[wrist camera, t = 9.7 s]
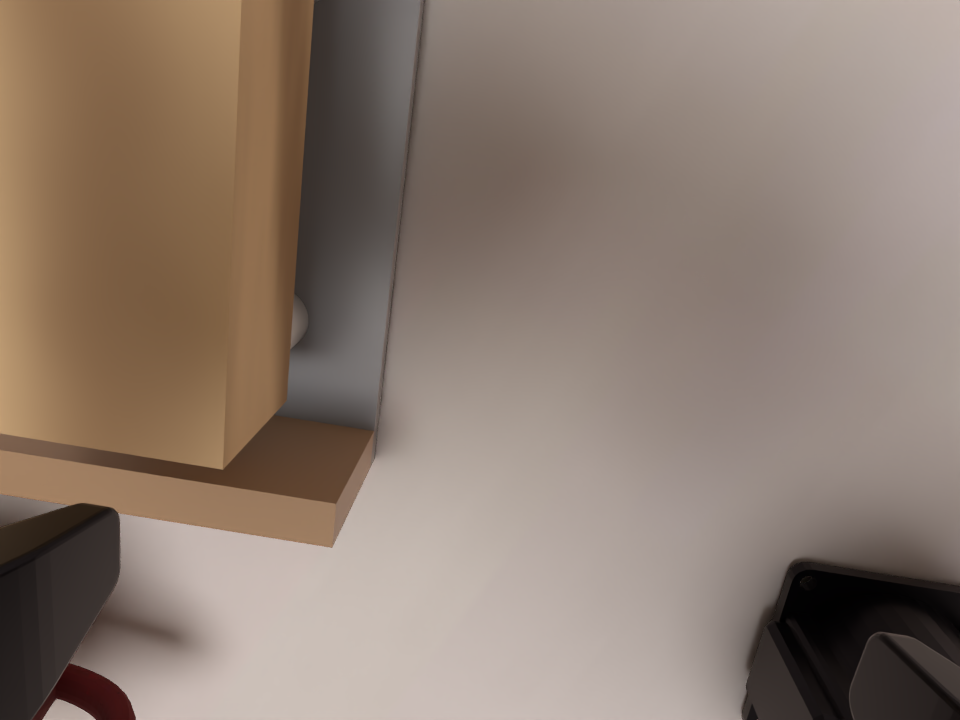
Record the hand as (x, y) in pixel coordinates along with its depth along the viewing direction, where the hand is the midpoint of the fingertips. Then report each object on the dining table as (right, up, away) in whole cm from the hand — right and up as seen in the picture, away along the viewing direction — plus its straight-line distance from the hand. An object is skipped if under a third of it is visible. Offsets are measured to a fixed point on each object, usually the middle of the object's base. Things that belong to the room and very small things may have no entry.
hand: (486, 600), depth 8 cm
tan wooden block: (-7, +8, +8) cm, 13 cm away
